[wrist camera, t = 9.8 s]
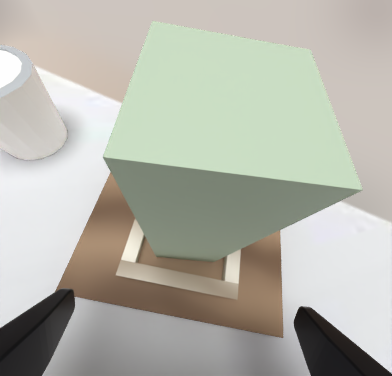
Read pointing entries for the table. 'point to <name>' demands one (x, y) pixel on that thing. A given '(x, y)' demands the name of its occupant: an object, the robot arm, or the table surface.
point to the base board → (174, 273)
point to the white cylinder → (26, 110)
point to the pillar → (225, 142)
